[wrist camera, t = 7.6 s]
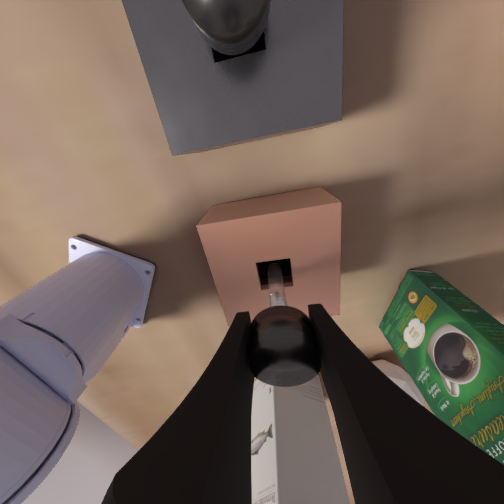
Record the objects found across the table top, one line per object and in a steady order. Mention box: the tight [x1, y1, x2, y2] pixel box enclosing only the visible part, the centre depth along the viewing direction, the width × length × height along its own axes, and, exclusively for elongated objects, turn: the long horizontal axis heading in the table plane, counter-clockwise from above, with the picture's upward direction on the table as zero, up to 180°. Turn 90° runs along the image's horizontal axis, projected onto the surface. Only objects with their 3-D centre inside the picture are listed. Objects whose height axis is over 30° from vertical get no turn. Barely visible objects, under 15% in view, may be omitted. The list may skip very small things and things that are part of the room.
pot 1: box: [122, 0, 344, 156], centre depth 11 cm, size 9×9×5 cm
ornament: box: [371, 359, 425, 406], centre depth 23 cm, size 6×7×7 cm
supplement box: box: [251, 375, 350, 504], centre depth 23 cm, size 7×7×13 cm
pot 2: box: [196, 187, 341, 326], centre depth 17 cm, size 9×9×5 cm
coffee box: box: [379, 270, 504, 465], centre depth 16 cm, size 8×3×13 cm, turn 176°
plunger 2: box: [249, 263, 321, 387], centre depth 12 cm, size 3×3×8 cm
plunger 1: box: [182, 0, 271, 58], centre depth 9 cm, size 3×3×8 cm
